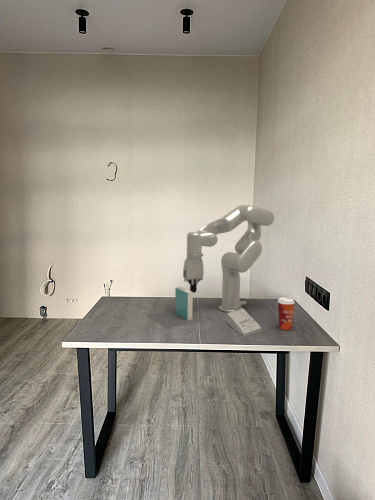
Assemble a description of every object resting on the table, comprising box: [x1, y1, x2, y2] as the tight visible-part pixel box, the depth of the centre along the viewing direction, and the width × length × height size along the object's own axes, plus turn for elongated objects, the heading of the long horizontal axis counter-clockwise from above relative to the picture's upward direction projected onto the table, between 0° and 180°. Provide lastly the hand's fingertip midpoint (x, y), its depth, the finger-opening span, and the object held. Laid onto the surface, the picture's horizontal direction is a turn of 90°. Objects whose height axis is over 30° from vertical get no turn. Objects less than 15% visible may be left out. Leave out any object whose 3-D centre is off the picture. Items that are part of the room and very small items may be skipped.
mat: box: [146, 310, 206, 329], centre depth 189 cm, size 22×22×1 cm
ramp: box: [225, 307, 262, 338], centre depth 180 cm, size 28×16×5 cm, turn 176°
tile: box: [174, 286, 194, 320], centre depth 191 cm, size 3×12×14 cm, turn 31°
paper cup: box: [277, 297, 295, 331], centre depth 177 cm, size 8×8×14 cm
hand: (193, 291), depth 193 cm, fingers closed
